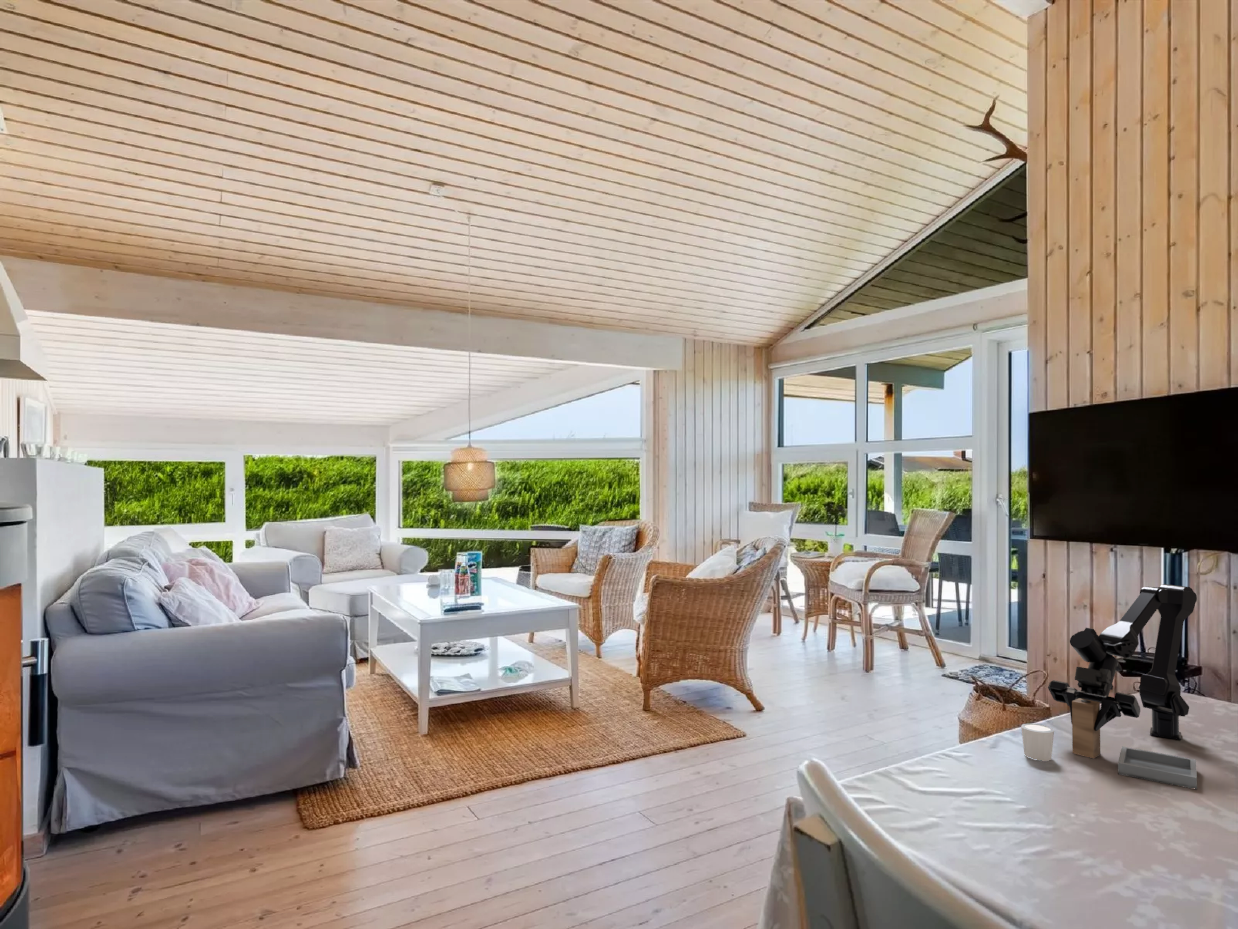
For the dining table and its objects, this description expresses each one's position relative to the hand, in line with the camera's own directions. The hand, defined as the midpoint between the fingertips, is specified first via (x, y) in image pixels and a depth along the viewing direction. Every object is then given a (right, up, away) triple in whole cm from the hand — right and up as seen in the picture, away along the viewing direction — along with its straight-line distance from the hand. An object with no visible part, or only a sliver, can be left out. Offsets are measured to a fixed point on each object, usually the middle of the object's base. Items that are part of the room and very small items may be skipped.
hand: (1083, 727), depth 179 cm
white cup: (-12, -7, -2) cm, 14 cm away
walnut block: (+1, -7, +1) cm, 7 cm away
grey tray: (+10, -6, -11) cm, 16 cm away
